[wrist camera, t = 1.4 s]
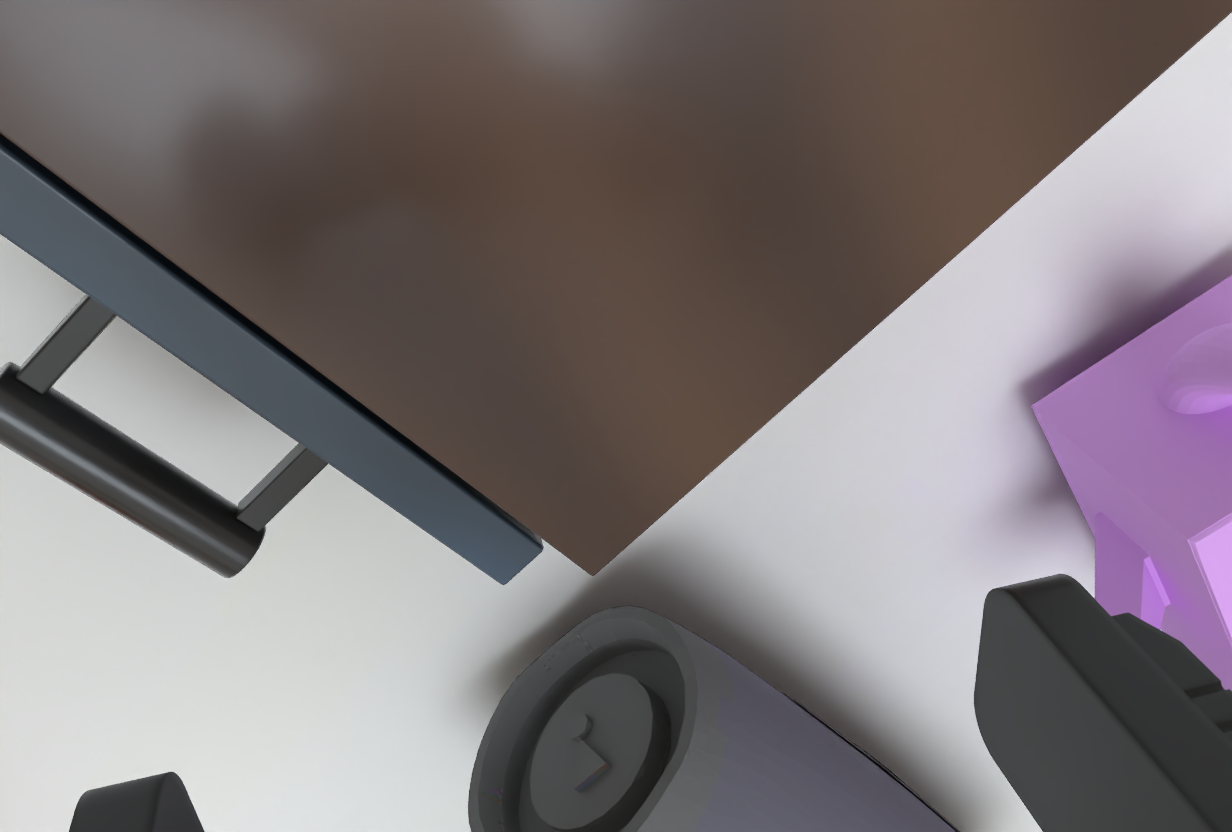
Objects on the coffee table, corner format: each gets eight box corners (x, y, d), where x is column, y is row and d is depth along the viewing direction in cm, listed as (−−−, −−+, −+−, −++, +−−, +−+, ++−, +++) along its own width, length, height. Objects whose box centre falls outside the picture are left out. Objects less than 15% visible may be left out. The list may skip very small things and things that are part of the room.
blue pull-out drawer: (344, 523, 29) (341, 734, 22) (-110, 218, 23) (-306, 382, 16) (892, -2, 25) (1088, 61, 18) (522, -536, 19) (613, -735, 12)
